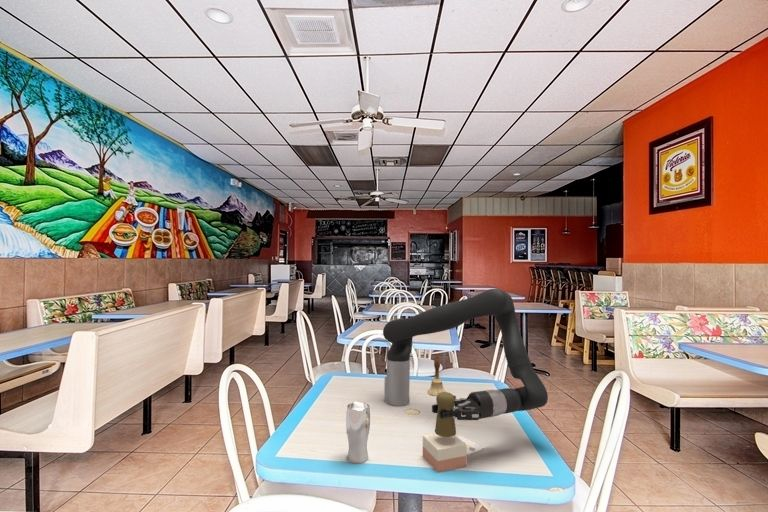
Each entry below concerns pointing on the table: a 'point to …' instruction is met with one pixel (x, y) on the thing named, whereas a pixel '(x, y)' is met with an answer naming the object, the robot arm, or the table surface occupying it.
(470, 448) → the page
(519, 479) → the table surface
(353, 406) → the beer glass
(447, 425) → the cork
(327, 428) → the table surface
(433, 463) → the brick base
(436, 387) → the hand bell
